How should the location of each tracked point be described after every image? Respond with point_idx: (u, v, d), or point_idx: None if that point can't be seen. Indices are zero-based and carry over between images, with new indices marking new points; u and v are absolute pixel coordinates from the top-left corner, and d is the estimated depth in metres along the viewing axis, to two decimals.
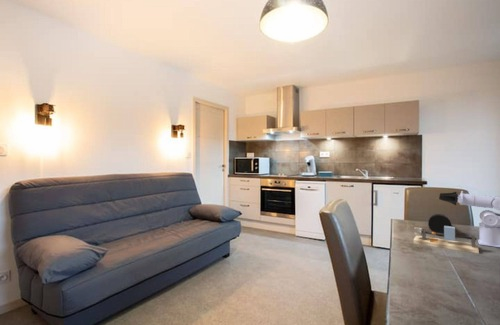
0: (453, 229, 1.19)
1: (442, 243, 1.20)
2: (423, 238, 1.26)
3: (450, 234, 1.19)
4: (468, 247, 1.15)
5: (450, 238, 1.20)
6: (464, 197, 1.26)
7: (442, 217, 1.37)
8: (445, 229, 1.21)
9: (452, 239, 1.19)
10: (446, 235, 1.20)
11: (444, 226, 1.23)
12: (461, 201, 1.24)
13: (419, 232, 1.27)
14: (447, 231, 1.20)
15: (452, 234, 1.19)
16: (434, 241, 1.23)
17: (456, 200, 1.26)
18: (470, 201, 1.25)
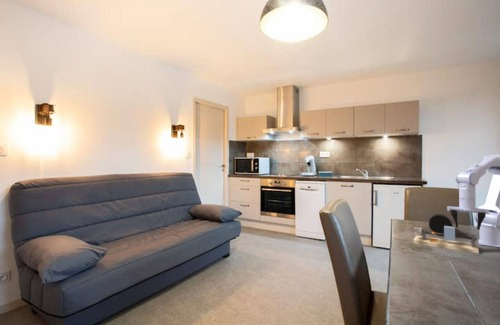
0: (453, 229, 1.19)
1: (442, 243, 1.20)
2: (423, 238, 1.26)
3: (450, 234, 1.19)
4: (468, 247, 1.15)
5: (450, 238, 1.20)
6: (474, 207, 1.15)
7: (443, 217, 1.37)
8: (445, 229, 1.21)
9: (452, 239, 1.19)
10: (446, 235, 1.20)
11: (444, 226, 1.23)
12: (488, 210, 1.13)
13: (419, 232, 1.27)
14: (447, 231, 1.20)
15: (452, 234, 1.19)
16: (434, 241, 1.23)
17: (485, 214, 1.14)
18: None
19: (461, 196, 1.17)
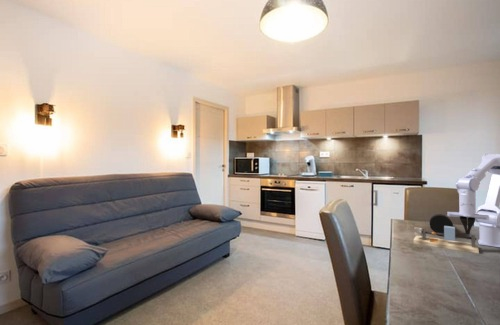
0: (453, 229, 1.19)
1: (442, 243, 1.20)
2: (423, 238, 1.26)
3: (450, 234, 1.19)
4: (468, 247, 1.15)
5: (450, 238, 1.20)
6: (474, 213, 1.15)
7: (443, 217, 1.37)
8: (445, 229, 1.21)
9: (452, 239, 1.19)
10: (446, 235, 1.20)
11: (444, 226, 1.23)
12: (488, 216, 1.13)
13: (419, 232, 1.27)
14: (447, 231, 1.20)
15: (452, 234, 1.19)
16: (434, 241, 1.23)
17: (474, 219, 1.16)
18: None
19: (461, 202, 1.17)
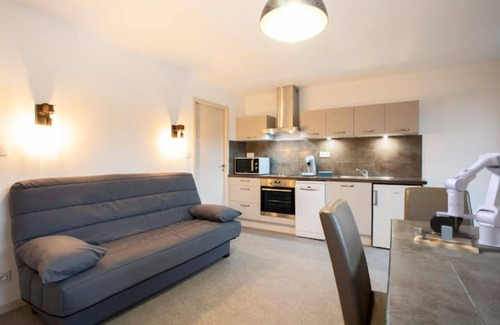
0: (450, 229, 1.19)
1: (442, 243, 1.20)
2: (423, 238, 1.26)
3: (448, 234, 1.20)
4: (468, 247, 1.15)
5: (447, 238, 1.20)
6: (462, 213, 1.17)
7: (444, 217, 1.37)
8: (442, 229, 1.21)
9: (449, 239, 1.20)
10: (443, 235, 1.21)
11: None
12: (476, 216, 1.15)
13: (419, 232, 1.27)
14: (444, 231, 1.21)
15: (449, 234, 1.20)
16: (434, 241, 1.23)
17: (462, 219, 1.18)
18: None
19: (449, 202, 1.20)
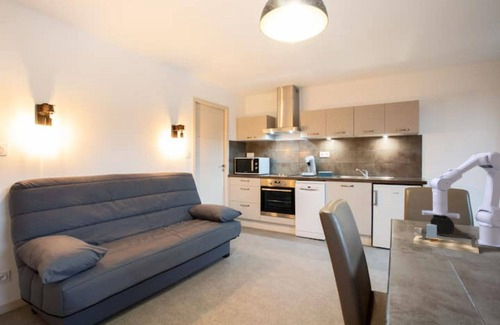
0: (435, 227, 1.23)
1: (442, 243, 1.20)
2: (423, 238, 1.26)
3: (432, 232, 1.24)
4: (468, 247, 1.15)
5: (432, 235, 1.24)
6: (446, 211, 1.21)
7: None
8: (427, 227, 1.25)
9: (434, 236, 1.23)
10: (428, 233, 1.25)
11: (427, 224, 1.27)
12: (459, 214, 1.19)
13: (419, 232, 1.27)
14: (429, 229, 1.24)
15: (434, 232, 1.23)
16: (434, 241, 1.23)
17: (446, 217, 1.22)
18: (447, 206, 1.22)
19: (433, 200, 1.24)
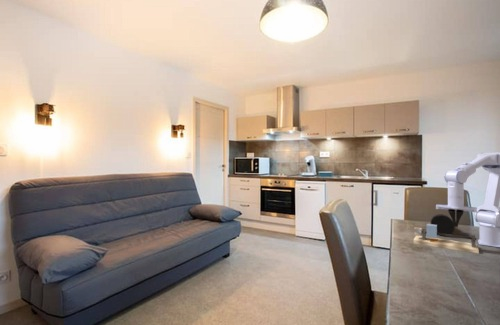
0: (435, 227, 1.23)
1: (442, 243, 1.20)
2: (423, 238, 1.26)
3: (432, 232, 1.24)
4: (468, 247, 1.15)
5: (432, 235, 1.24)
6: (462, 205, 1.15)
7: (445, 217, 1.36)
8: (427, 227, 1.25)
9: (434, 236, 1.23)
10: (428, 233, 1.25)
11: (427, 224, 1.27)
12: (476, 208, 1.13)
13: (419, 232, 1.27)
14: (429, 229, 1.24)
15: (434, 232, 1.23)
16: (434, 241, 1.23)
17: None
18: None
19: (449, 194, 1.17)
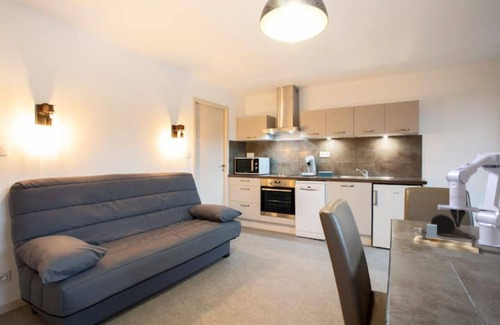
0: (435, 227, 1.23)
1: (442, 243, 1.20)
2: (423, 238, 1.26)
3: (432, 232, 1.24)
4: (468, 247, 1.15)
5: (432, 235, 1.24)
6: (465, 205, 1.14)
7: (445, 217, 1.36)
8: (427, 227, 1.25)
9: (434, 236, 1.23)
10: (428, 233, 1.25)
11: (427, 224, 1.27)
12: (479, 209, 1.12)
13: (419, 232, 1.27)
14: (429, 229, 1.24)
15: (434, 232, 1.23)
16: (434, 241, 1.23)
17: None
18: None
19: (451, 194, 1.16)
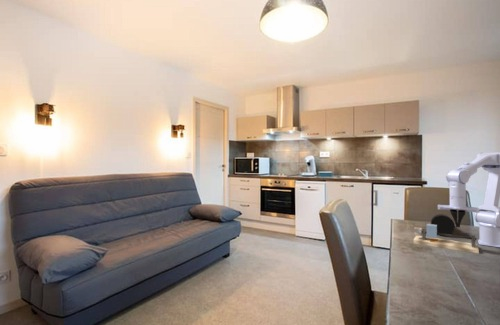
0: (435, 227, 1.23)
1: (442, 243, 1.20)
2: (423, 238, 1.26)
3: (432, 232, 1.24)
4: (468, 247, 1.15)
5: (432, 235, 1.24)
6: (465, 205, 1.14)
7: (445, 217, 1.36)
8: (427, 227, 1.25)
9: (434, 236, 1.23)
10: (428, 233, 1.25)
11: (427, 224, 1.27)
12: (479, 209, 1.12)
13: (419, 232, 1.27)
14: (429, 229, 1.24)
15: (434, 232, 1.23)
16: (434, 241, 1.23)
17: None
18: None
19: (451, 194, 1.16)
